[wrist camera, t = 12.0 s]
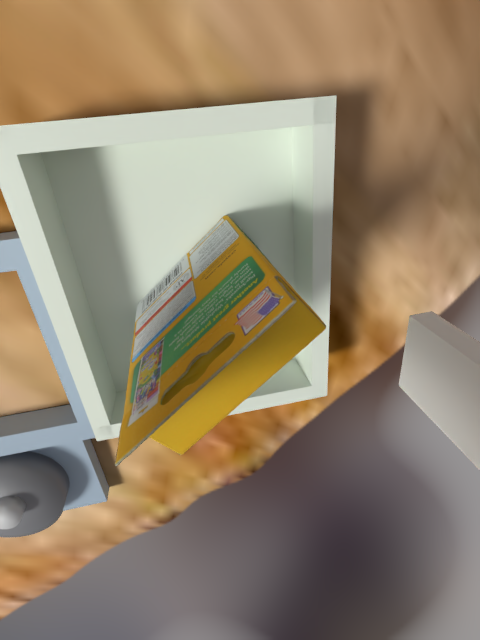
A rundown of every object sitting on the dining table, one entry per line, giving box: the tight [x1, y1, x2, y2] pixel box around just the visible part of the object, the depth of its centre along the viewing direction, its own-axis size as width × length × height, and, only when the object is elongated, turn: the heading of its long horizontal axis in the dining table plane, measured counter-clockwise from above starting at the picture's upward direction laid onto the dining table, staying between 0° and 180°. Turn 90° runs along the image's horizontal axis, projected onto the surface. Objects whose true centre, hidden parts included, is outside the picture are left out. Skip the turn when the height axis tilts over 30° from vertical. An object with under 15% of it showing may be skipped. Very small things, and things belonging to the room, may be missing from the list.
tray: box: [0, 95, 337, 441], centre depth 19 cm, size 16×14×4 cm
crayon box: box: [115, 215, 326, 466], centre depth 15 cm, size 7×3×12 cm, turn 133°
